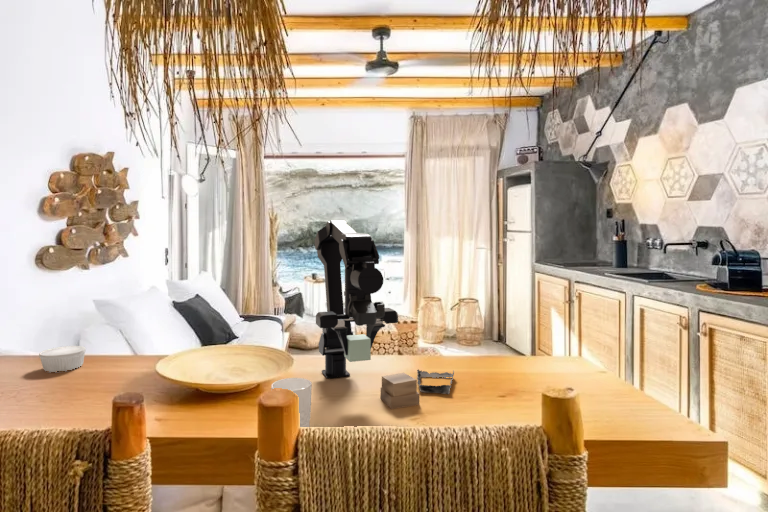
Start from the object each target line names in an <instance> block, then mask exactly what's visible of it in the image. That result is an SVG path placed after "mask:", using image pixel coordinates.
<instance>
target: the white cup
mask: <svg viewBox="0 0 768 512" xmlns="http://www.w3.org/2000/svg"><path fill="white" fill-rule="evenodd" d="M312 385H313V383H312V381H311V380H310V379H308V378H304V377H287V378H282V379H279V380H276V381H274V382H273V383H271V390H272V389H274V388H282V389H288V390H291V391H293V392H294V393H296V394H297V395H298V397H299V413H300V427H309V428H310V421H311V411H312V409H311V408H312V407H311V406H312V387H313V386H312Z"/></svg>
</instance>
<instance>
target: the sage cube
mask: <svg viewBox="0 0 768 512" xmlns="http://www.w3.org/2000/svg"><path fill="white" fill-rule="evenodd" d="M347 344H348V355H345V353H344V357H345V358H346V361H348V362H350V363H353V362H354V363H355V362H362V361H370V360H372V359H371V356H372V355H371V354H372V353H371V352H372V348H371V339H370V338H369V337H367V336H366V334H365V333H363V334H361V333H360V334H353V335H348V336H347Z"/></svg>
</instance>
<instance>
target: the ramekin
mask: <svg viewBox="0 0 768 512" xmlns="http://www.w3.org/2000/svg"><path fill="white" fill-rule="evenodd" d="M86 349H87V348H86V347H85V346H82V345H66V346H59V347H53V348H49V349H45V350H43V351H41V352H39V354H38V357H39V358H40V362H41V366H42V369H43V370H44V371H45V372H46V371H49V372H48V373H51V372H55V373H57V372H56V371H65V372H68V371H67V370H71V371H73V370H72V369H74V370H76V369H75V368H77V369H79V368H81V367H82V366H83V365H84V360H85V353H86ZM80 366H81V367H80ZM78 367H79V368H78Z"/></svg>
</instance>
